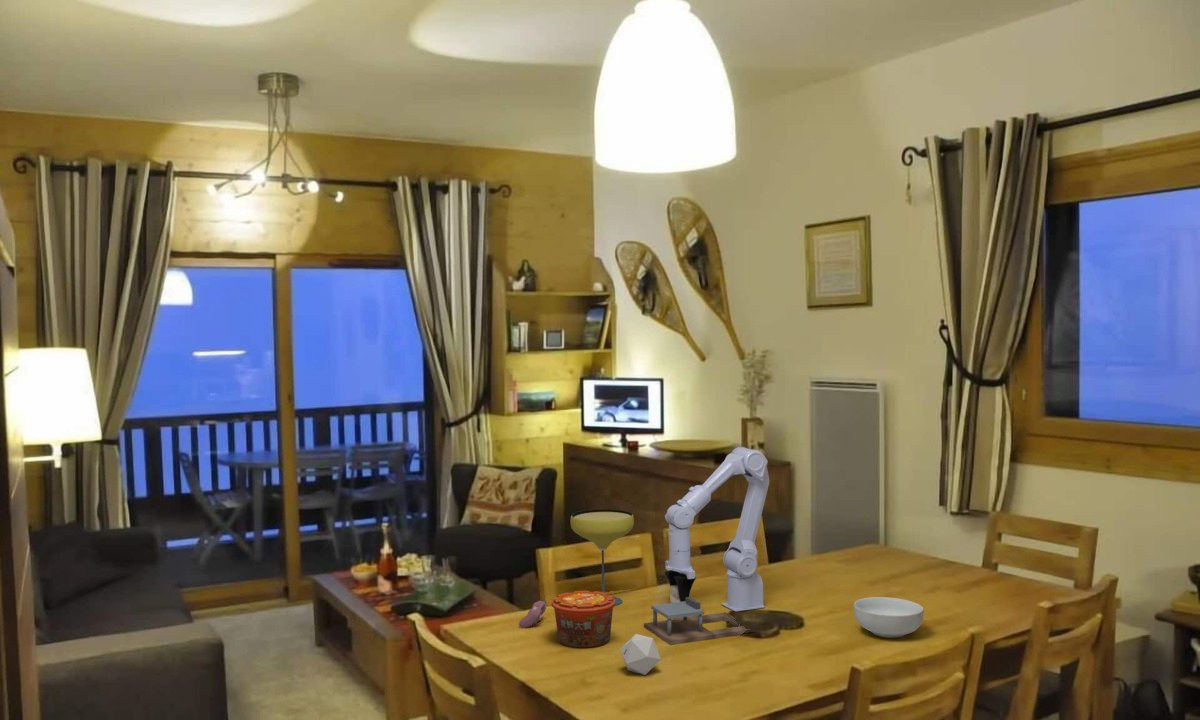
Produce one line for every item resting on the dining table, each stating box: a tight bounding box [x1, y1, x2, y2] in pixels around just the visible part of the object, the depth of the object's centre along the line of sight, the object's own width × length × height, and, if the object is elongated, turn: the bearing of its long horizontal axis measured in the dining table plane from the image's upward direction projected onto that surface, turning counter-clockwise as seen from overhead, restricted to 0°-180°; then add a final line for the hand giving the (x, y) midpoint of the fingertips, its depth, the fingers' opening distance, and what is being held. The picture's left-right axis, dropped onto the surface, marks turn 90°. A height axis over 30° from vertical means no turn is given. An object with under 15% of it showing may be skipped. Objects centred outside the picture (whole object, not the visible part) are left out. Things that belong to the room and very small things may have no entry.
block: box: [669, 585, 691, 603], centre depth 266 cm, size 4×4×5 cm
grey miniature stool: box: [650, 596, 705, 634], centre depth 249 cm, size 10×10×6 cm
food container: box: [551, 590, 616, 649], centre depth 244 cm, size 16×16×11 cm
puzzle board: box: [643, 612, 750, 646], centre depth 251 cm, size 24×16×1 cm, turn 111°
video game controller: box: [518, 600, 548, 629], centre depth 259 cm, size 10×5×7 cm, turn 169°
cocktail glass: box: [569, 508, 635, 607], centre depth 279 cm, size 18×18×25 cm
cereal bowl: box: [853, 596, 925, 639], centre depth 246 cm, size 17×17×7 cm
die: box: [619, 633, 662, 676], centre depth 221 cm, size 8×9×10 cm
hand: (680, 599), depth 266 cm, fingers closed on block, 4 cm apart
